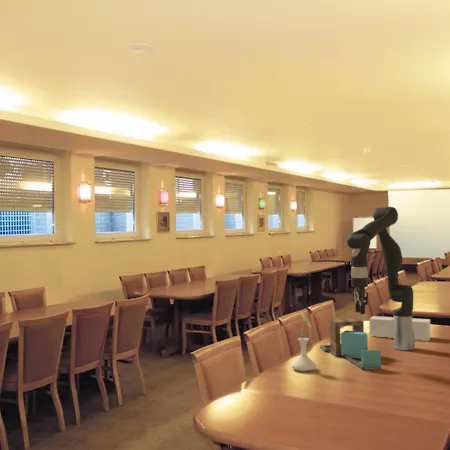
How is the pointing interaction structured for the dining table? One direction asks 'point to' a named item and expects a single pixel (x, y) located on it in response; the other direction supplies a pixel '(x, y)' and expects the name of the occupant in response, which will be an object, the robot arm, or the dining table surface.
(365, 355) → the frame
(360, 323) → the wooden arch
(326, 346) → the tray
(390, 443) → the dining table surface
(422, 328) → the white long block
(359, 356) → the data package
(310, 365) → the flower in vase
